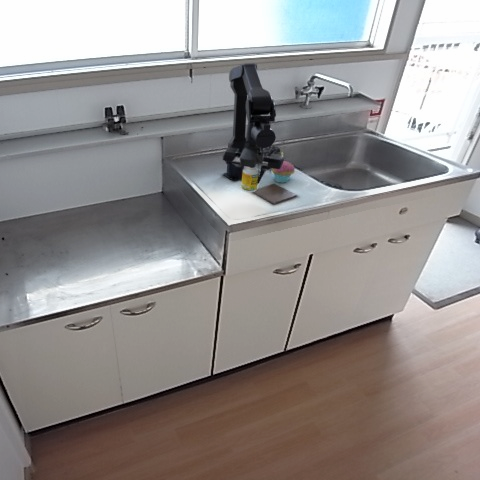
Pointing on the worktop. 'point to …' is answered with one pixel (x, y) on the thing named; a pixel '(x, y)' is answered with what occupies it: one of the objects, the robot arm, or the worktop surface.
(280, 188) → the plate
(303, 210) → the worktop surface
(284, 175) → the cupcake
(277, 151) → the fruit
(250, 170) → the supplement bottle
